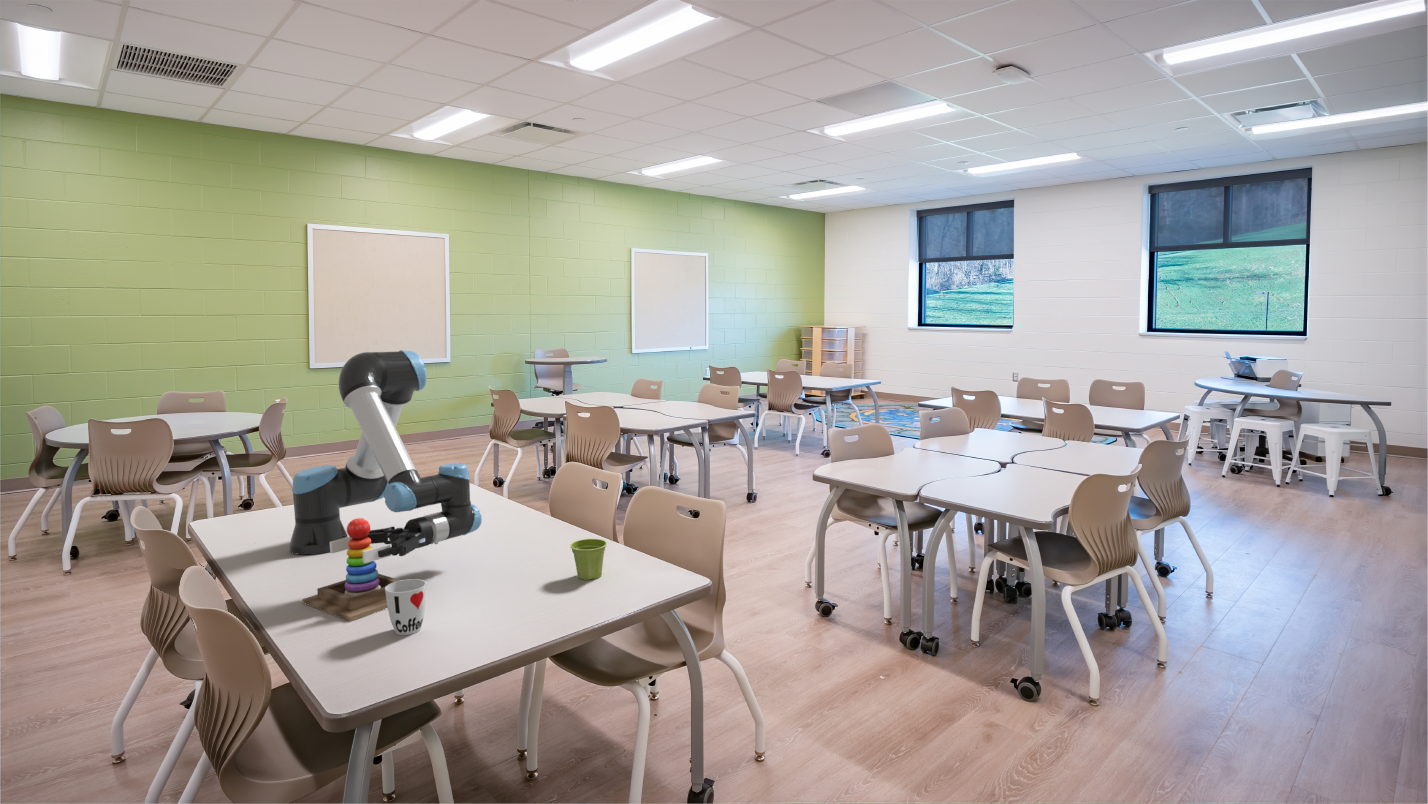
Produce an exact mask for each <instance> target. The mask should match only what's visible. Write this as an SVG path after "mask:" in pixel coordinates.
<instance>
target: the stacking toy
mask: <svg viewBox="0 0 1428 804" xmlns="http://www.w3.org/2000/svg"><path fill="white" fill-rule="evenodd" d="M370 530H371V524H370V523H369V521H368V520H367V519H365V518H360V517H358V518H354V519H352V520H351V521H350V522H349V523H348V524H347V527H346V533H347V536H348V537H351V538H352V539H351V540H349V542H348V546H349V547H350V548H349V549H347V550H346V555H347V556H348V557H347V558H346V564H347V566H346V567H345V568H346V569H345V570H346V575H345V580H347V582H346V583H345V589H346V591H345V593H344V594H346V595H348V596H351V597H356V596H359V595H362V594H365V593H368V592H371V591H374V590H377V589H380V588H381V587H380V585H378V584H379V579H378V578H377V576H378V574H379V572H378V569H377V563H376V561H371V562H368V563H363V554H362V551H366V550H369V549H373V546H371V539H370V538H369V537H366V536H368V534H369V532H370Z"/></svg>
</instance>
